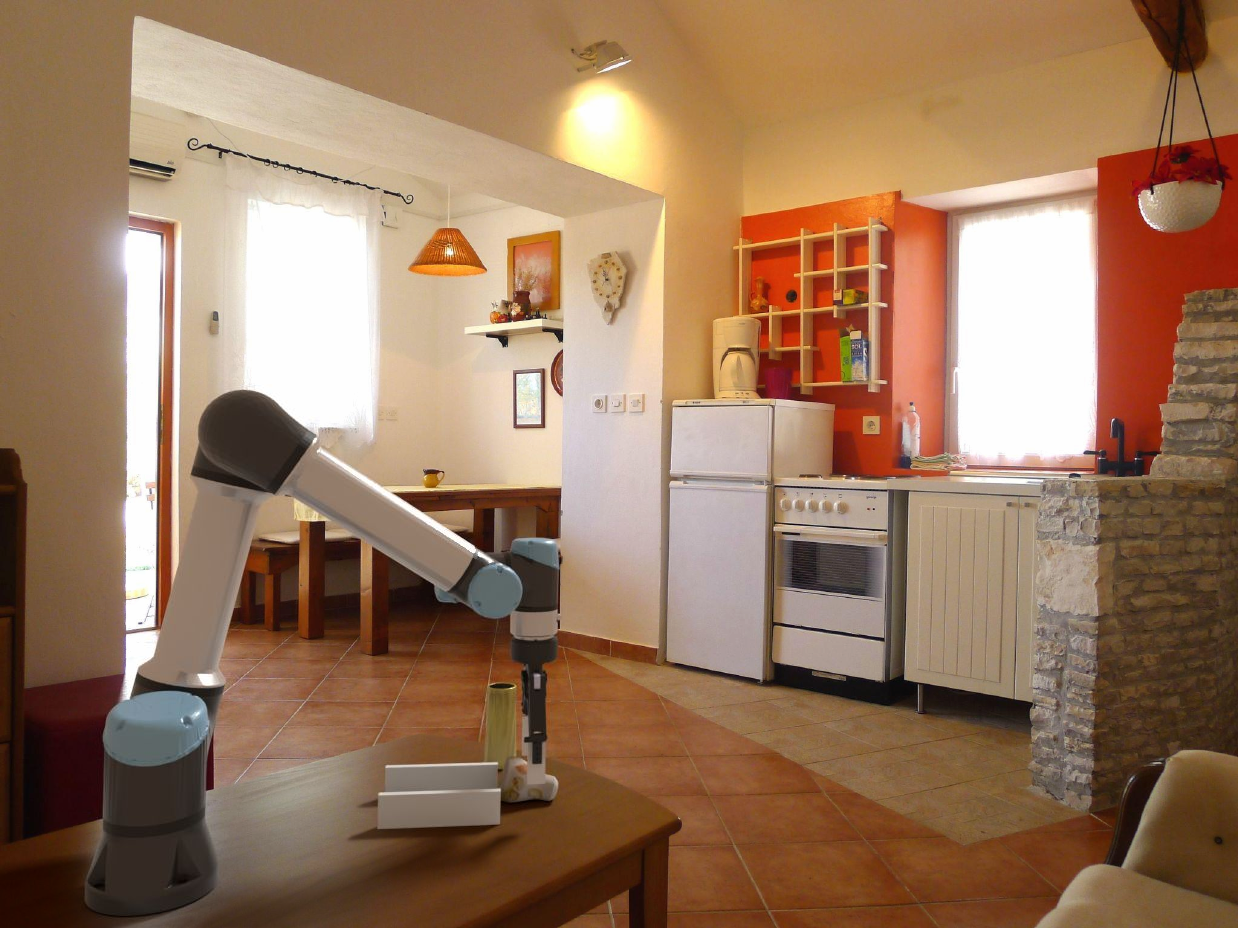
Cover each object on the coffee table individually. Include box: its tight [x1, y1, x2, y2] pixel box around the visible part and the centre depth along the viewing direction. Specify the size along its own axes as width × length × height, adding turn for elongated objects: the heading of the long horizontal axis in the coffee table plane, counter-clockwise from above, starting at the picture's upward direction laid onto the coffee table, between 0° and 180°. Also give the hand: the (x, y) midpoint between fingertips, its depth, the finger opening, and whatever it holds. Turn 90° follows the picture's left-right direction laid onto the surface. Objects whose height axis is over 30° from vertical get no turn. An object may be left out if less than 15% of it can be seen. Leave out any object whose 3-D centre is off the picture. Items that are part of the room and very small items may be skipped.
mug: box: [497, 756, 559, 803], centre depth 151 cm, size 8×10×10 cm
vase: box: [482, 681, 517, 770], centre depth 168 cm, size 6×6×14 cm
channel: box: [376, 762, 501, 830], centre depth 146 cm, size 18×14×5 cm
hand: (532, 768), depth 148 cm, fingers open, 13 cm apart
